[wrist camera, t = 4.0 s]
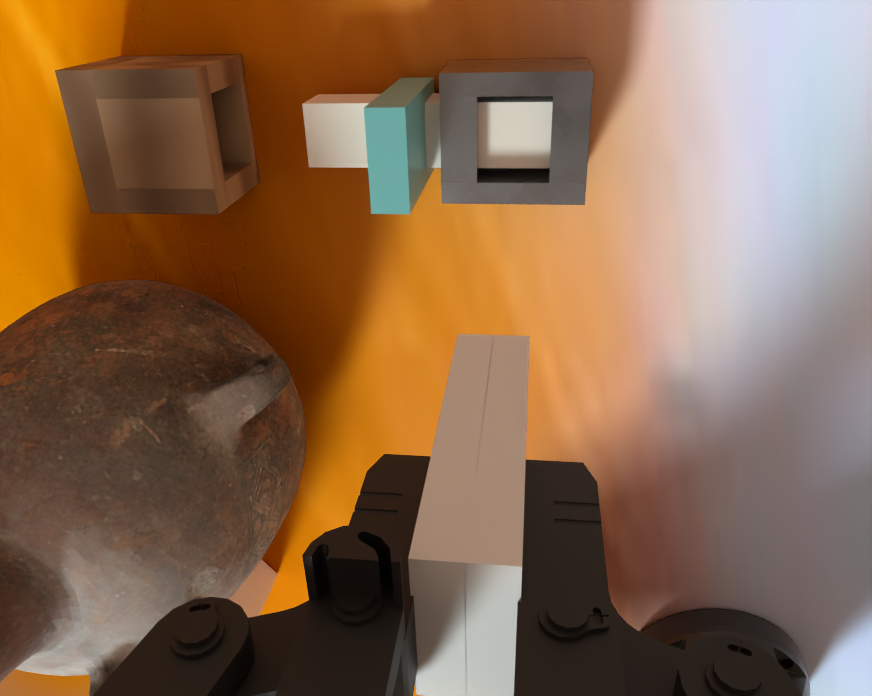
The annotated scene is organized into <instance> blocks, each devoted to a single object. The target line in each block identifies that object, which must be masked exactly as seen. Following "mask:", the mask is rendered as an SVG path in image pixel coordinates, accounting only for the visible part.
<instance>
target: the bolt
mask: <svg viewBox="0 0 872 696" xmlns="http://www.w3.org/2000/svg"><path fill="white" fill-rule="evenodd" d="M552 103H553V96H502V97H478V168H550V148H551V126H552ZM302 107H303V117H304V126H305V135H306V144H307V154H308V163H309V167H329V168H368V175H369V190H370V204H371V214H410V213H411V211H412V209H413V208H414V206H415V204H416V202H417V200H418V198H419V196H420V194H421V192H422V190H423V189H424V187H425V185H426V183H427V181H428V179H429V177H430V175H431V173H432V172H433V170H434V168H441V145H440V104H439V93H434V77H412V78H400V79H399V80H398V81H396V82H395V83H394V84H393V85H391V86H390V87H389V88H388V89H386V90H385V91H384V92H383V93H381V94H318V95H316V96H315V97H313V98H311V99H309V100H308V101H306V102H304V103H303V104H302Z"/></svg>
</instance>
